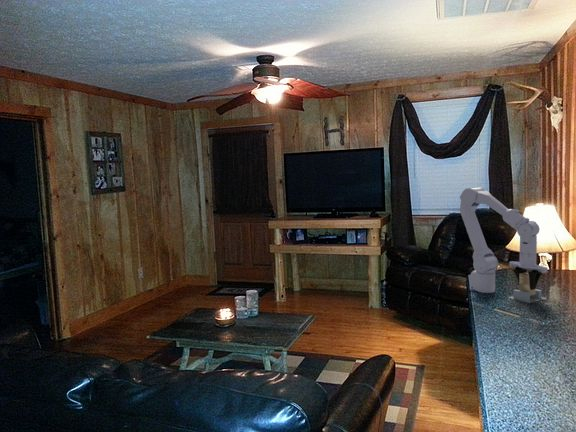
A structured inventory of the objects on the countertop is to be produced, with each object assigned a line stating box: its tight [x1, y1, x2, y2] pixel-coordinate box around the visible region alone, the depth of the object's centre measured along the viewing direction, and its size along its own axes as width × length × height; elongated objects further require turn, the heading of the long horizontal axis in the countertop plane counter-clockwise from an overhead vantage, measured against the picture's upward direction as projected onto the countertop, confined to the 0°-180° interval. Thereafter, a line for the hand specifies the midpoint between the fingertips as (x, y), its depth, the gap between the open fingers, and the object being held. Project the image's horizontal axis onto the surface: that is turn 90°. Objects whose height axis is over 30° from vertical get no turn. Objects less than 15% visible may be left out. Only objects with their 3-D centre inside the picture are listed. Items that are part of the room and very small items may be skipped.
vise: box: [507, 288, 548, 304], centre depth 175 cm, size 9×11×4 cm
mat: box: [493, 308, 526, 319], centre depth 163 cm, size 10×14×1 cm
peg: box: [518, 271, 537, 296], centre depth 175 cm, size 4×4×8 cm
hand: (527, 288), depth 175 cm, fingers closed on peg, 4 cm apart
